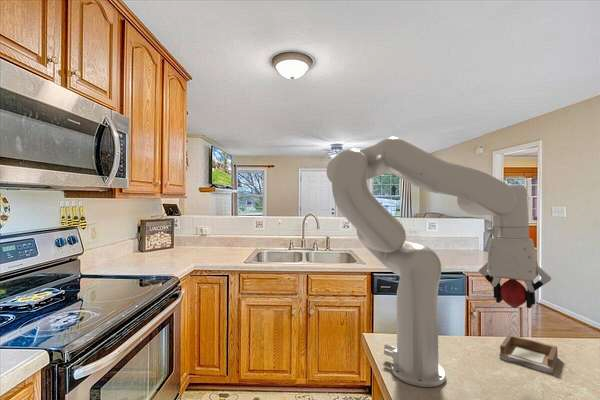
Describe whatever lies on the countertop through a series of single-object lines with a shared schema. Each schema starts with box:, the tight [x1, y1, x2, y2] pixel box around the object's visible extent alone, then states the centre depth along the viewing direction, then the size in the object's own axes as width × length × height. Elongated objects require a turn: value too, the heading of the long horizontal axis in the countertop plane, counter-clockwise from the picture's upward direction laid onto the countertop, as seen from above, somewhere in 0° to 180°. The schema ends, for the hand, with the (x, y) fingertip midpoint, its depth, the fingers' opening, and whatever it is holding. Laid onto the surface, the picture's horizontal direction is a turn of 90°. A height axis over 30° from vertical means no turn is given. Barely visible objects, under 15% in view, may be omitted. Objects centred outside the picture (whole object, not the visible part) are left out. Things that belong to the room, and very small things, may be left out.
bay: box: [499, 334, 559, 375], centre depth 82 cm, size 11×11×3 cm
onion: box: [500, 279, 527, 309], centre depth 78 cm, size 6×6×8 cm
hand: (514, 303), depth 77 cm, fingers closed on onion, 5 cm apart
